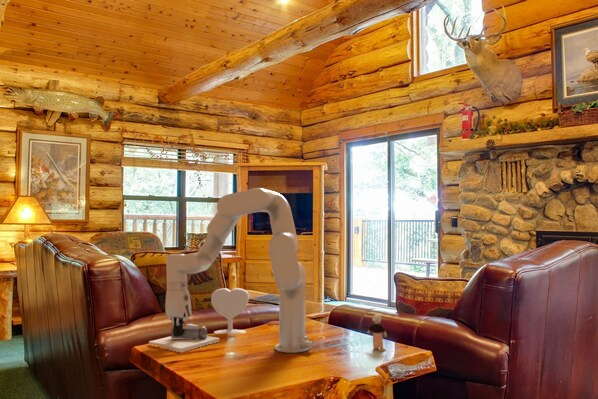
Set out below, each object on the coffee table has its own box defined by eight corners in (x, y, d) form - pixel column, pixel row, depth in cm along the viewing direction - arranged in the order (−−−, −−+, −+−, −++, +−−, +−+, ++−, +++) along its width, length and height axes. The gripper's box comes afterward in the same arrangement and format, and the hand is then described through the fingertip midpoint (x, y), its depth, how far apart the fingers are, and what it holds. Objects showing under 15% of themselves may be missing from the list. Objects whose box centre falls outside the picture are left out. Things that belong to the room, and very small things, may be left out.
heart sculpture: (210, 333, 203) (210, 289, 204) (212, 330, 208) (212, 288, 209) (248, 332, 203) (248, 289, 204) (249, 330, 208) (249, 287, 209)
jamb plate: (219, 341, 188) (219, 327, 188) (180, 352, 173) (180, 337, 173) (188, 335, 199) (188, 322, 199) (148, 345, 183) (149, 330, 184)
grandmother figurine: (389, 349, 175) (388, 314, 176) (386, 352, 172) (386, 315, 172) (368, 347, 178) (368, 312, 179) (365, 350, 175) (365, 314, 176)
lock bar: (208, 336, 188) (208, 326, 188) (205, 338, 185) (205, 327, 185) (173, 336, 189) (173, 325, 190) (170, 338, 186) (170, 327, 186)
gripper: (198, 286, 184) (199, 335, 183) (172, 284, 193) (173, 331, 192) (182, 288, 178) (183, 340, 177) (156, 287, 187) (157, 335, 186)
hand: (178, 335), depth 185 cm, fingers closed
